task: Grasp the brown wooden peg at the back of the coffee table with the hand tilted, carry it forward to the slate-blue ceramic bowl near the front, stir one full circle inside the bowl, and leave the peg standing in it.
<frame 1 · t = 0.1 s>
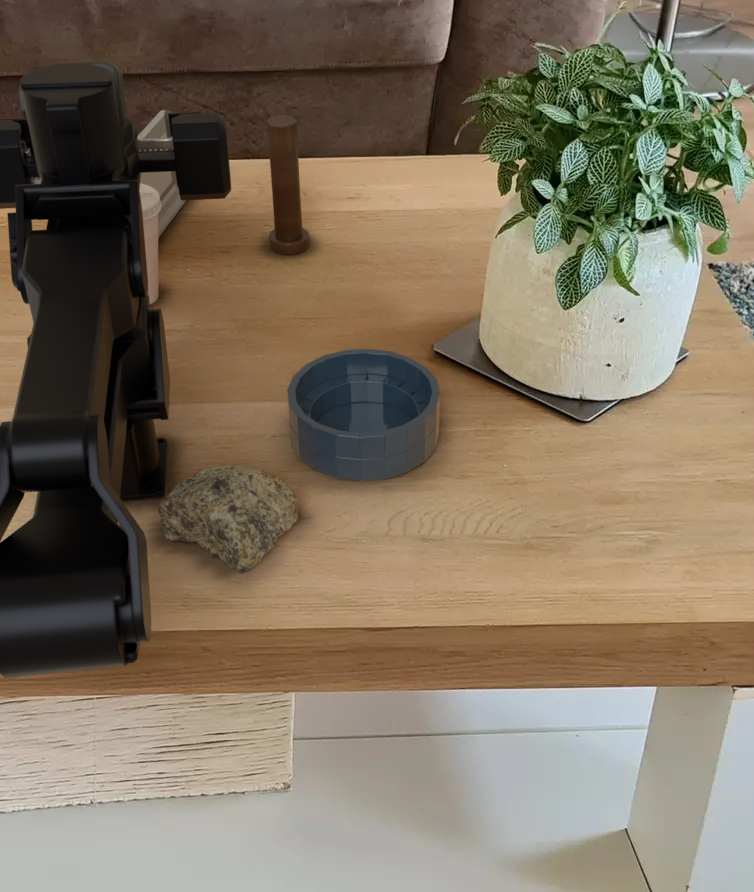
hand: (110, 117, 94), 17 cm above the table, tool horizontal, fingers open, 9 cm apart
brown wooden peg: (289, 245, 113), on the table
smoothie: (137, 298, 104), on the table
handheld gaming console: (123, 226, 115), on the table
rock: (235, 540, 80), on the table
bowl: (364, 438, 89), on the table
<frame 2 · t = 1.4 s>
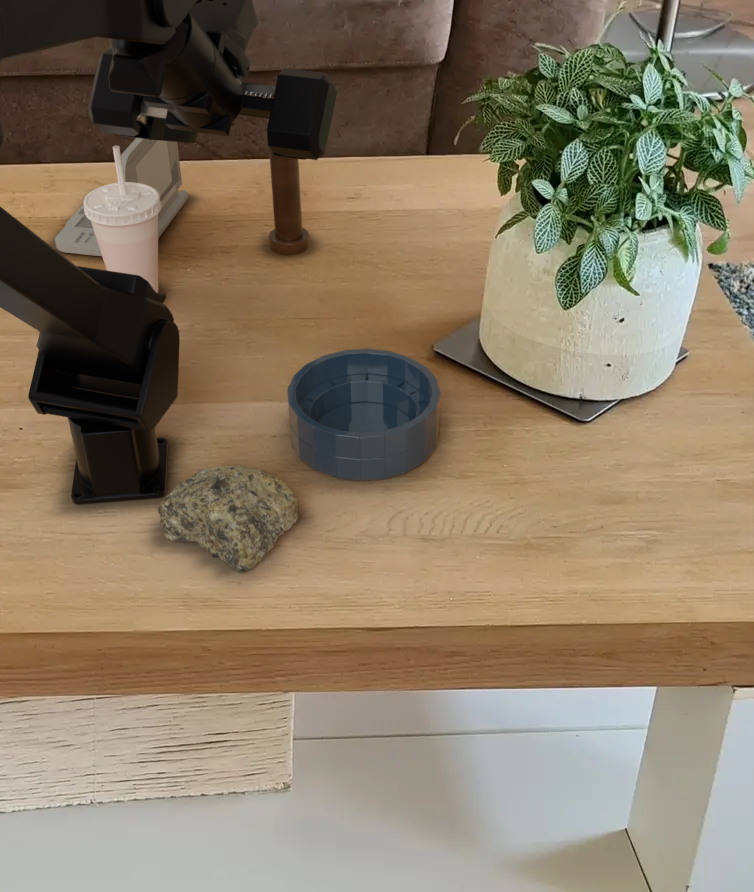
hand: (246, 144, 98), 14 cm above the table, tool tilted 45°, fingers open, 9 cm apart
nothing on the table moved.
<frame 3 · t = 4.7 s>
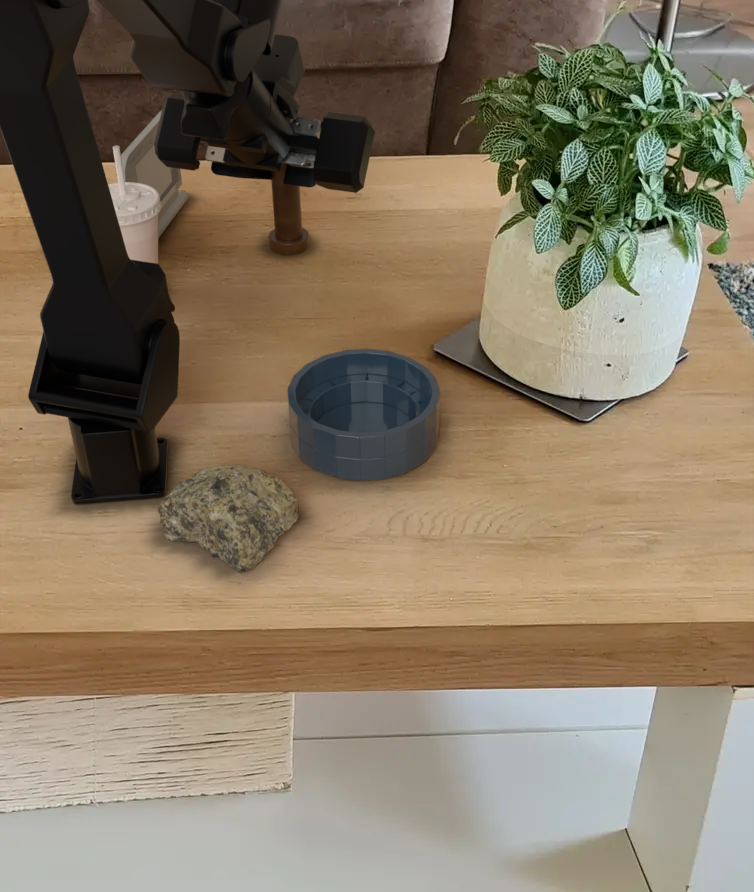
hand: (290, 176, 110), 7 cm above the table, tool tilted 45°, fingers closed on brown wooden peg, 2 cm apart
brown wooden peg: (289, 245, 113), on the table, touching gripper
everything else where it was.
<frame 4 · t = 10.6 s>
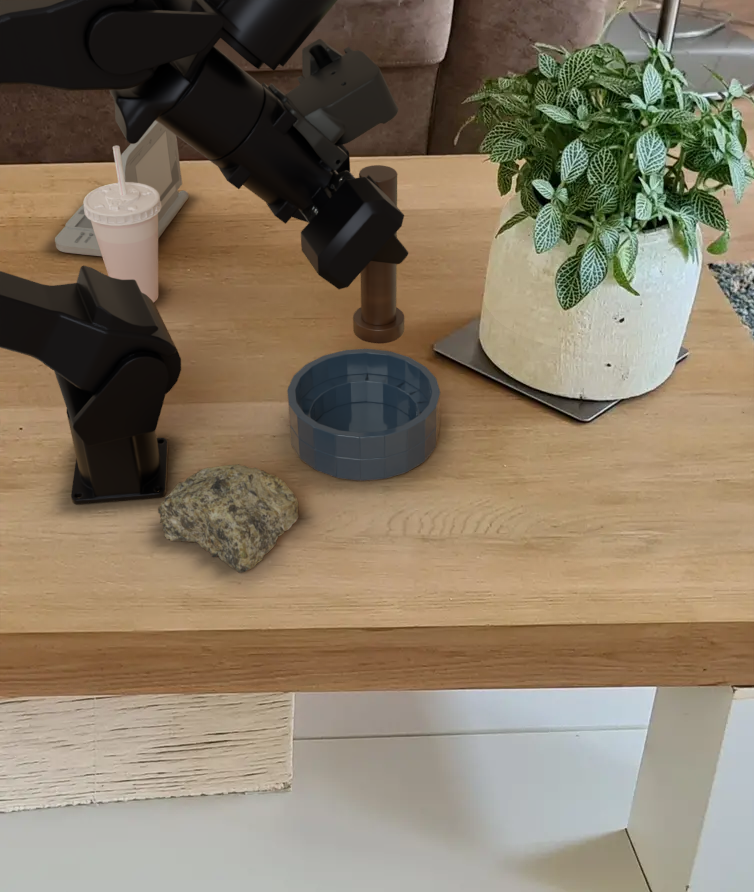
hand: (396, 248, 83), 14 cm above the table, tool tilted 45°, fingers closed on brown wooden peg, 2 cm apart
brown wooden peg: (378, 330, 87), point 8 cm above the table, touching gripper
everything else where it was.
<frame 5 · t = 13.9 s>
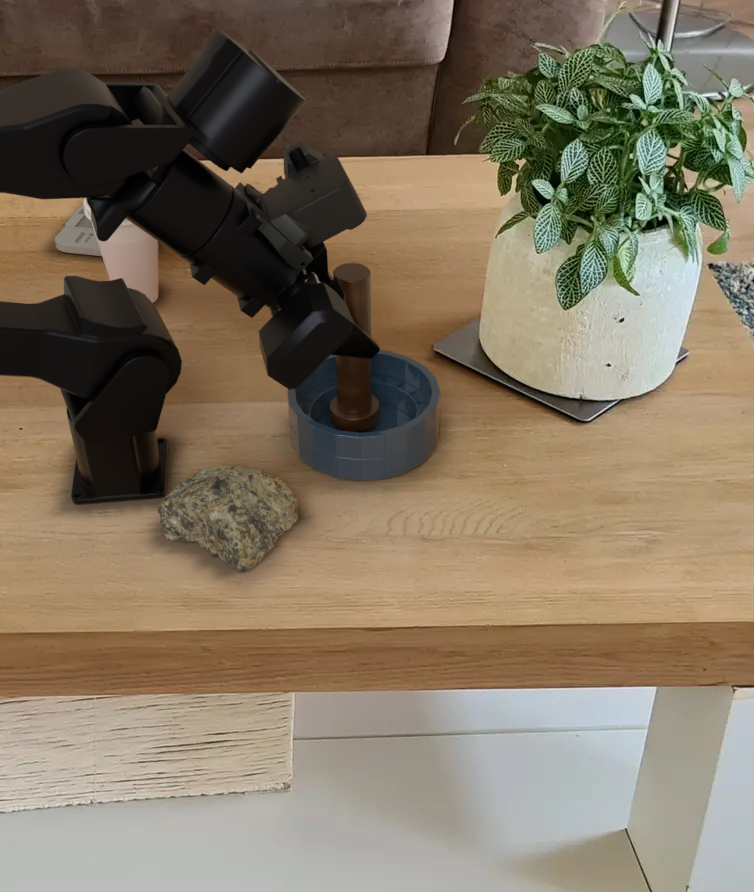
hand: (371, 342, 85), 8 cm above the table, tool tilted 45°, fingers closed on brown wooden peg, 2 cm apart
brown wooden peg: (354, 416, 89), point 1 cm above the table, touching gripper
everything else where it was.
when the fingers open (7 cm above the table, at t = 16.6 s): brown wooden peg stays where it is, resting on bowl.
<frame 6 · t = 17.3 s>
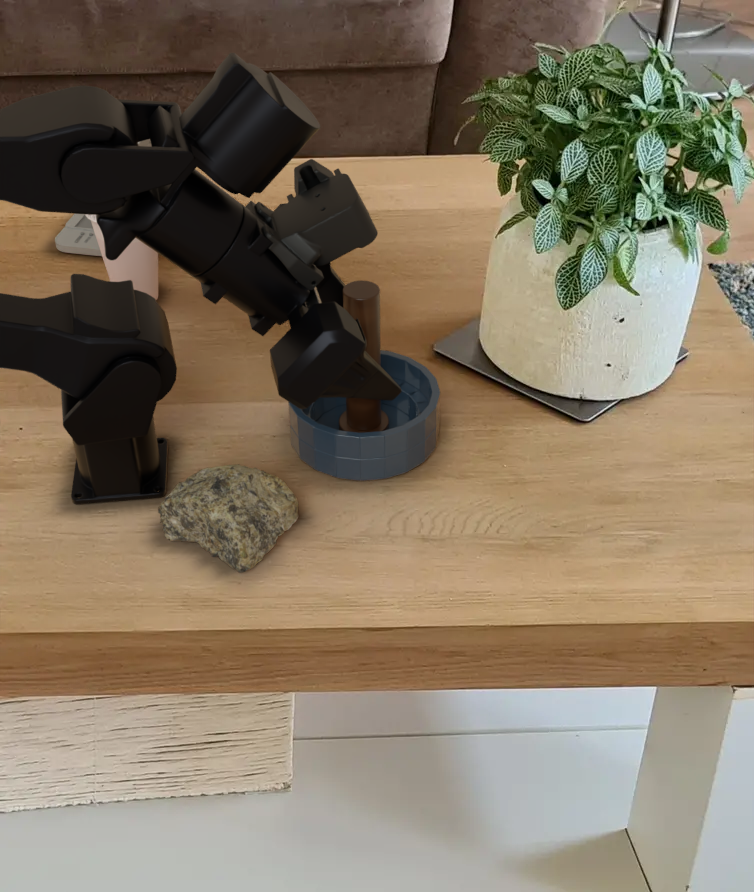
hand: (382, 358, 85), 7 cm above the table, tool tilted 45°, fingers open, 9 cm apart
brown wooden peg: (364, 432, 89), resting on bowl
everything else where it was.
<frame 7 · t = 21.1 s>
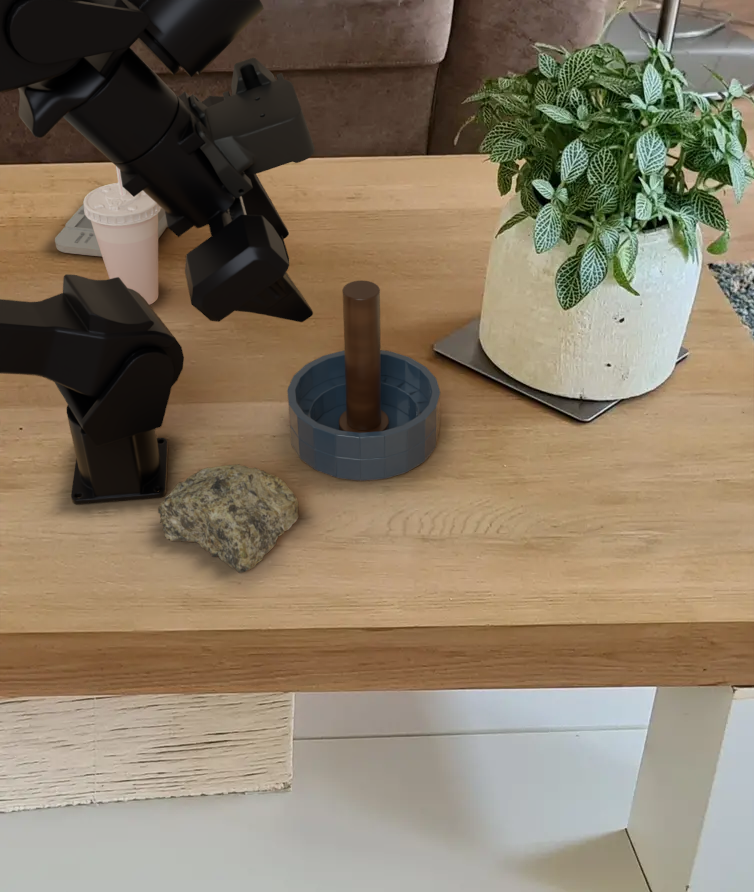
hand: (295, 275, 83), 13 cm above the table, tool tilted 35°, fingers open, 9 cm apart
nothing on the table moved.
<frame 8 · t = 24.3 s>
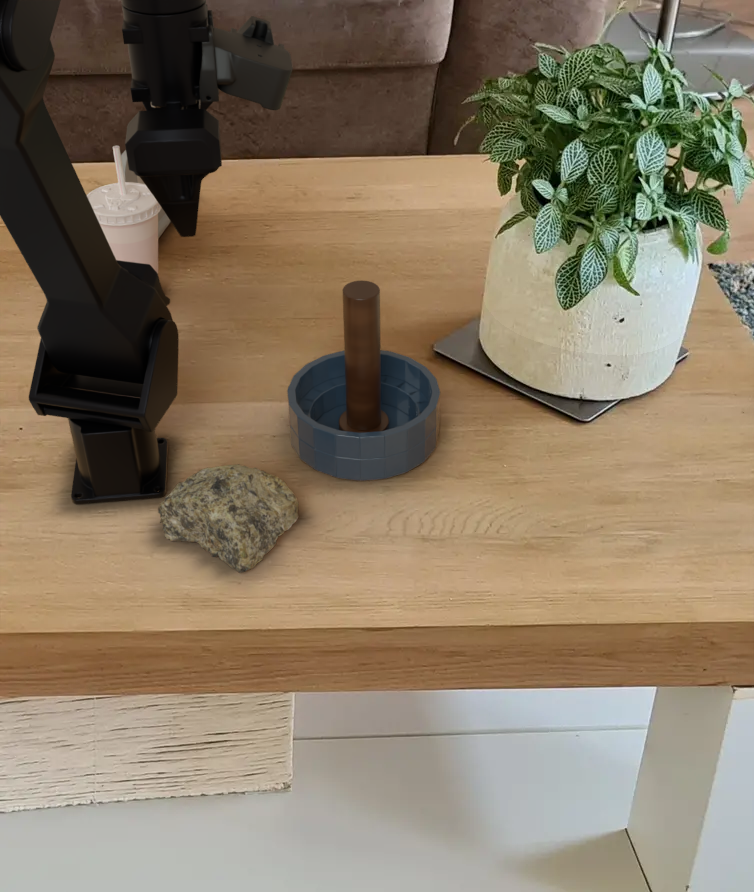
hand: (188, 207, 90), 13 cm above the table, tool pointing down, fingers open, 9 cm apart
nothing on the table moved.
at the end: brown wooden peg inside the target area in the bowl (0.1 cm from its centre), point 0.5 cm above the bowl's base; the gripper is holding nothing; brown wooden peg moved 31.2 cm from its start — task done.
